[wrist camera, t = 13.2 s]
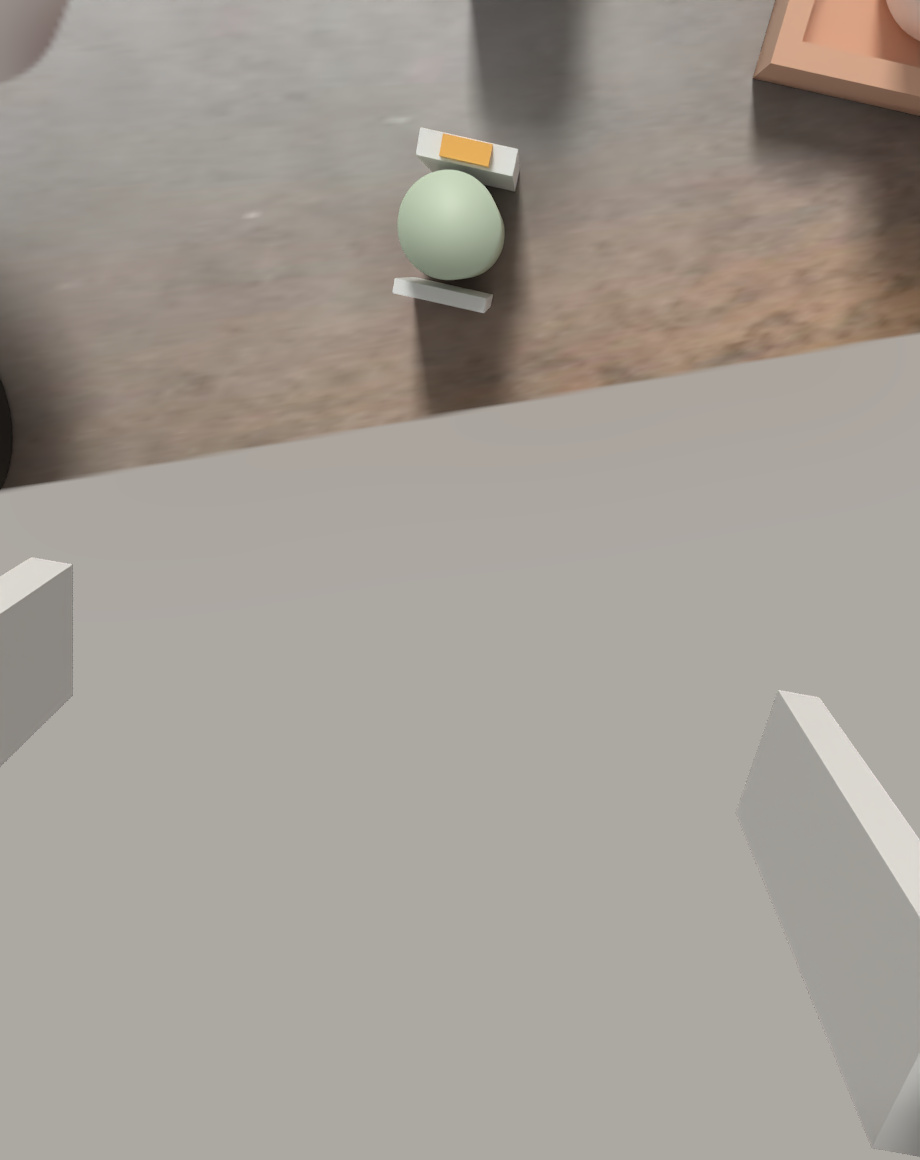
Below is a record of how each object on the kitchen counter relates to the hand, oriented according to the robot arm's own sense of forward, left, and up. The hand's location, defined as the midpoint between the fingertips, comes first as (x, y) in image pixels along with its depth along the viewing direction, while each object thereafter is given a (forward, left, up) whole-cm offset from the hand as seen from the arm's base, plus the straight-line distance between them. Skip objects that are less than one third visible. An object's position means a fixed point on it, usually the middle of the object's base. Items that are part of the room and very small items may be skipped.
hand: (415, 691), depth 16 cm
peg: (-3, +8, -31) cm, 32 cm away
